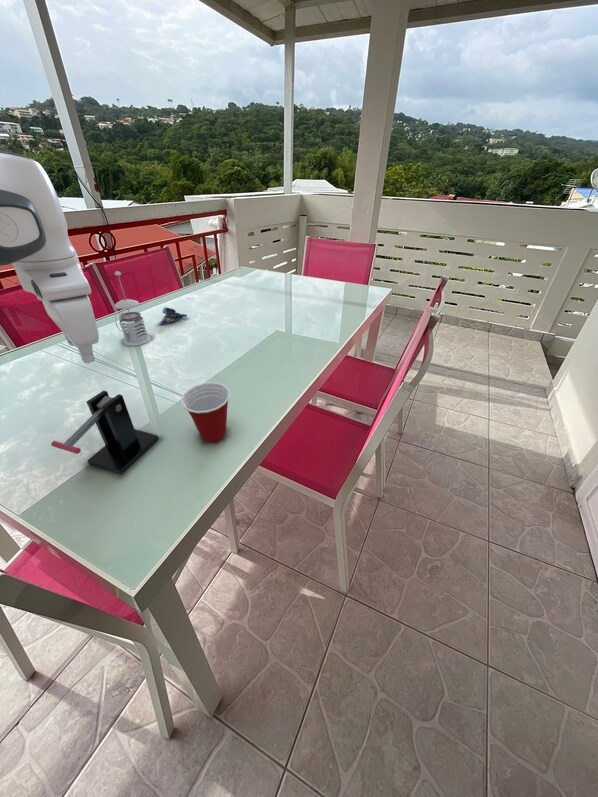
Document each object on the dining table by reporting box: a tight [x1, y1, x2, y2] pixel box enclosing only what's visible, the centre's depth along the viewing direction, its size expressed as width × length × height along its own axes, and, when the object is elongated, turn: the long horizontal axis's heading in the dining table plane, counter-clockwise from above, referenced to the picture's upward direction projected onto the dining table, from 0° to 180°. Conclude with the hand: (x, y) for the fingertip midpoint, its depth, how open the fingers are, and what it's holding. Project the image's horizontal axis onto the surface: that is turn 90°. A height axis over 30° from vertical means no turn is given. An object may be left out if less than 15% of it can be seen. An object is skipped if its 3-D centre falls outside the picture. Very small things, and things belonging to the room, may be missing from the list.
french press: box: [113, 270, 152, 347], centre depth 117 cm, size 10×12×25 cm
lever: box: [50, 396, 113, 455], centre depth 65 cm, size 13×6×2 cm, turn 161°
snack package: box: [157, 306, 188, 325], centre depth 140 cm, size 12×6×12 cm
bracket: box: [86, 390, 159, 475], centre depth 71 cm, size 12×9×15 cm
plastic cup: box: [180, 381, 231, 443], centre depth 77 cm, size 11×11×12 cm
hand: (81, 352), depth 61 cm, fingers open, 8 cm apart
